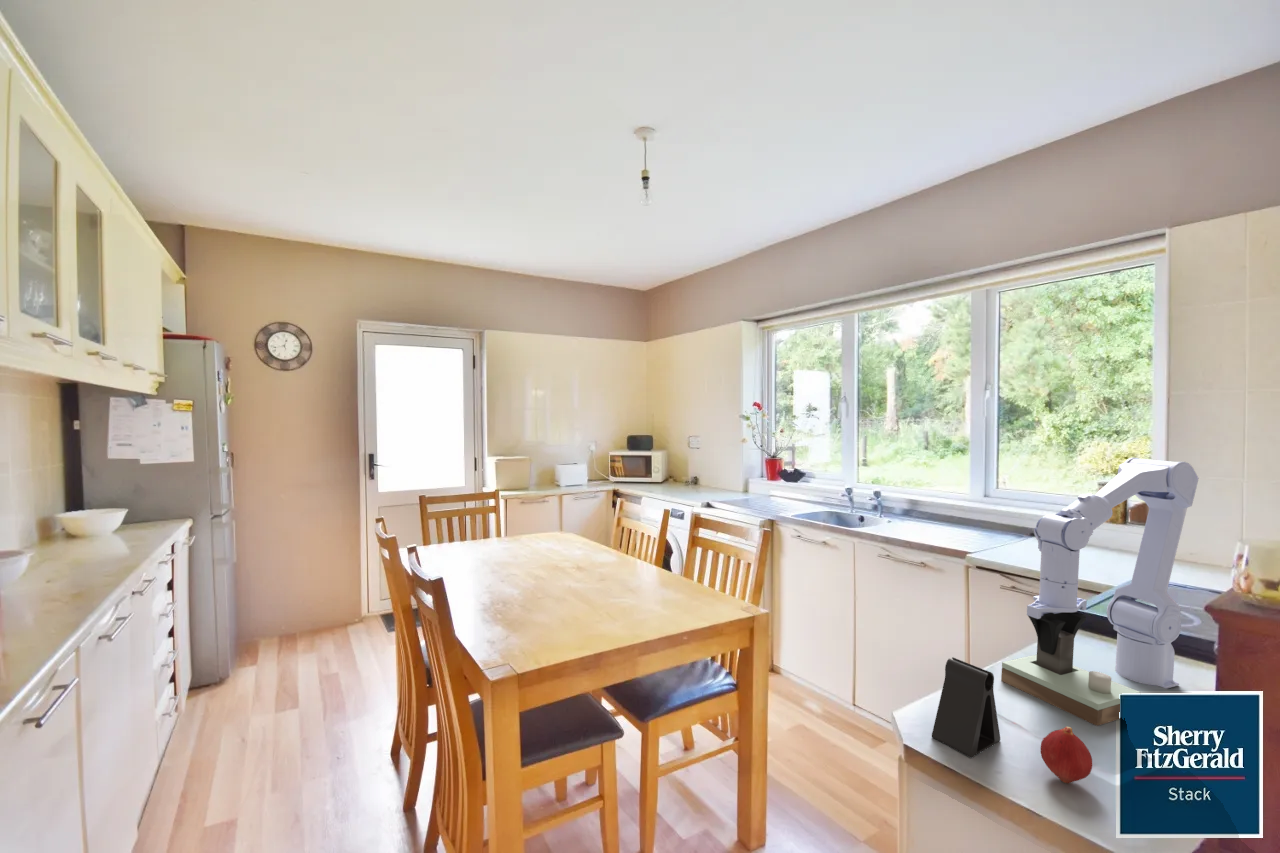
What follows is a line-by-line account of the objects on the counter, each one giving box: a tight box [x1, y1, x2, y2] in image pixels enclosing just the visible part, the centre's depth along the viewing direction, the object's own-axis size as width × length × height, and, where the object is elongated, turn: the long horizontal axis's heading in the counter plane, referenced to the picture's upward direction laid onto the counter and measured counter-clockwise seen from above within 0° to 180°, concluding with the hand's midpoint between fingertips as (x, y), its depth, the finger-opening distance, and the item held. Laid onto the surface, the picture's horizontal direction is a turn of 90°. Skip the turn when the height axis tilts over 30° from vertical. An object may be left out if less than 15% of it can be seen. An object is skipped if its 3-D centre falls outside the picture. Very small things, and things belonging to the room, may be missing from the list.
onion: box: [1040, 726, 1093, 784], centre depth 78 cm, size 6×6×8 cm
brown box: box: [1000, 667, 1120, 727], centre depth 100 cm, size 12×16×4 cm
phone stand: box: [931, 656, 1001, 759], centre depth 87 cm, size 9×6×12 cm, turn 121°
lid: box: [1001, 654, 1141, 710], centre depth 100 cm, size 12×16×4 cm
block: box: [1036, 630, 1075, 675], centre depth 104 cm, size 4×4×8 cm
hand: (1055, 650), depth 104 cm, fingers closed on block, 4 cm apart
